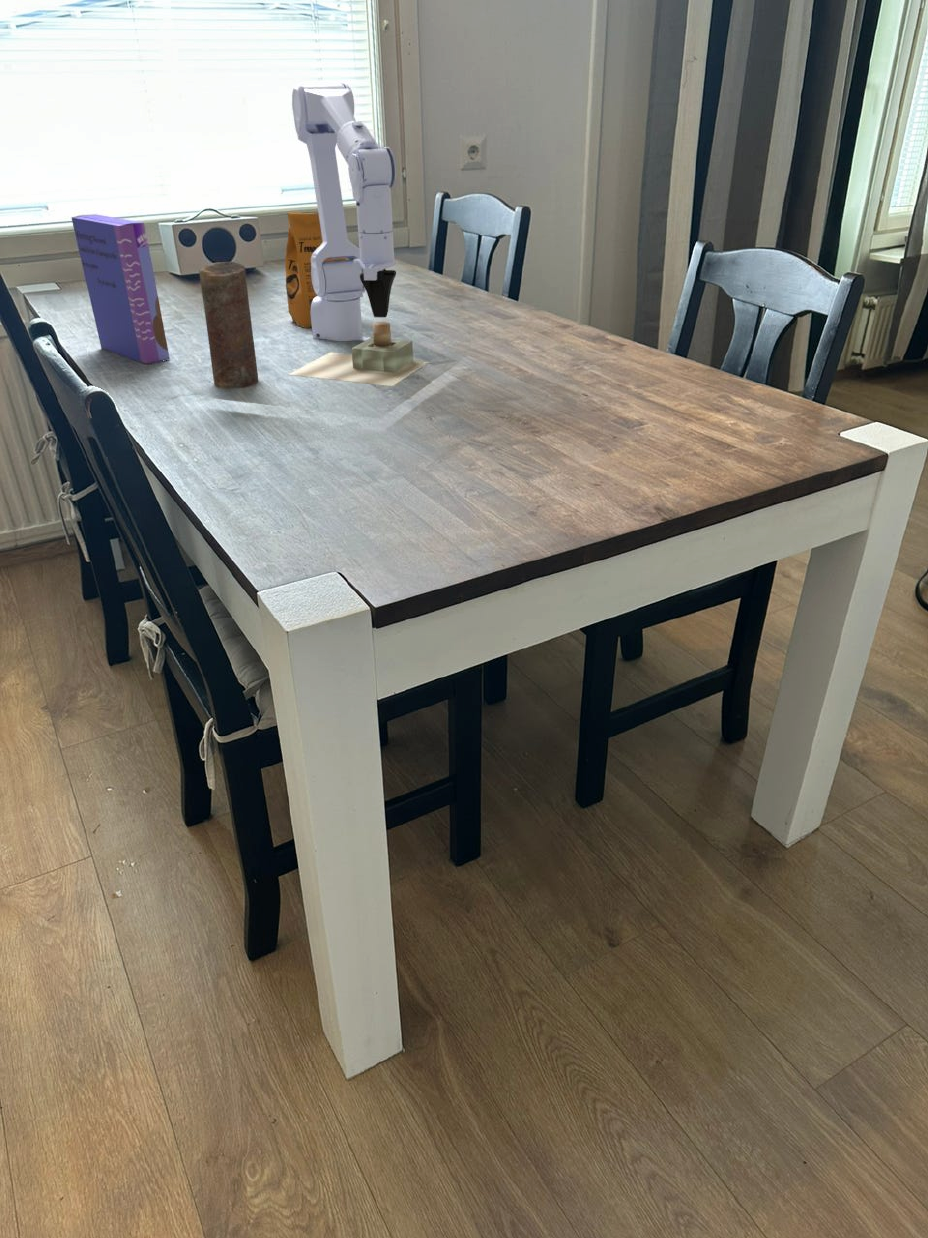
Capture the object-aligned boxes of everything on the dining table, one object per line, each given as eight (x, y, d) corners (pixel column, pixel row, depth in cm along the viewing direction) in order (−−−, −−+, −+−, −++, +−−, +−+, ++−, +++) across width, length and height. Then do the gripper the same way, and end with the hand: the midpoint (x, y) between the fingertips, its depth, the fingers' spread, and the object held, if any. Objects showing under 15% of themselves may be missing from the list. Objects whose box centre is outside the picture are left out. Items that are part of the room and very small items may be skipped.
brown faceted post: (269, 386, 150) (252, 262, 139) (246, 399, 144) (227, 270, 133) (230, 382, 152) (211, 260, 141) (206, 394, 146) (185, 268, 135)
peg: (373, 366, 154) (371, 326, 150) (376, 361, 156) (374, 321, 152) (390, 366, 153) (388, 326, 150) (392, 361, 156) (391, 321, 152)
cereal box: (169, 359, 164) (143, 221, 152) (147, 364, 162) (118, 224, 149) (123, 343, 175) (95, 212, 162) (101, 348, 172) (71, 215, 159)
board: (288, 382, 151) (285, 353, 148) (330, 360, 163) (328, 333, 160) (393, 394, 145) (391, 364, 142) (428, 370, 156) (427, 342, 154)
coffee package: (285, 320, 190) (273, 209, 179) (339, 313, 195) (330, 205, 183) (299, 329, 183) (287, 215, 171) (355, 322, 188) (346, 211, 176)
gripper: (360, 224, 150) (365, 306, 157) (342, 238, 137) (349, 326, 145) (400, 224, 149) (404, 306, 156) (386, 238, 137) (391, 326, 144)
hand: (380, 316), depth 150 cm, fingers closed
